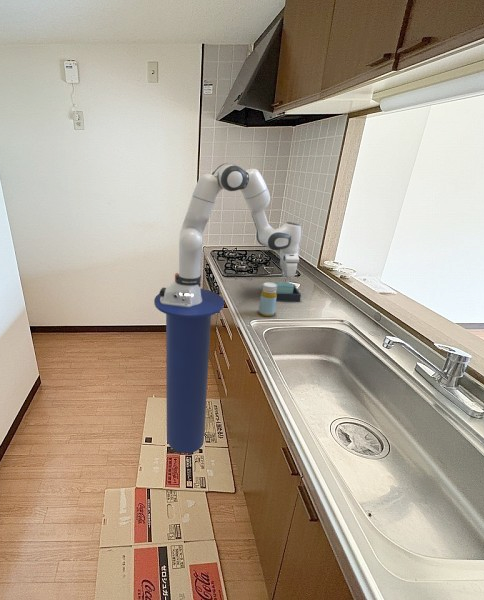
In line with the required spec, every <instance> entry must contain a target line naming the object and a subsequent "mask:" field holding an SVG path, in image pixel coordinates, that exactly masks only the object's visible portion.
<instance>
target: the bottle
mask: <svg viewBox="0 0 484 600" xmlns="http://www.w3.org/2000/svg"><path fill="white" fill-rule="evenodd" d="M275 283H276V282H271V281H269V282H264V283H263V284H262V291H261V292H260V298H259V299H260V301H259V309H258V313H259V314H260V316H263V317H268V318H269V317H272V316H274V315H275V311H276V305H277V301H276V298H277V293H276V290H277V284H275Z"/></svg>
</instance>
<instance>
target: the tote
mask: <svg viewBox="0 0 484 600" xmlns="http://www.w3.org/2000/svg"><path fill="white" fill-rule="evenodd" d="M293 286H294V289H293V294H286V293H277V298H276V302H294V303H295V302H297V303H298V302H299V303H300V302H301V297H302V294H301V292H300V291H299V289H298V288H297V287H296V284H293Z"/></svg>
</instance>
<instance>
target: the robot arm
mask: <svg viewBox="0 0 484 600" xmlns="http://www.w3.org/2000/svg"><path fill="white" fill-rule="evenodd" d="M267 186H268V185H267V183H266V181H265V179H264V177H263V176H262V174H261V172H260V171H259V170H258V169H256V168H248V169H246V170H245V169H243V168H242V167H240V166H238V165H236V164H235V163H222V164H221V165H218V167H217V168H216V169H215V170H214V171H213V172H212V173H205V174H202V175H201V176H200V177H199V178H198V180H197V182H196V184H195V187H194V189H193V192H192V195H191V198H190V202H189V205H188V207H187V210H186V211H187V212H186V213H185V216H184V219H183V221H182V225H181V227H180V231H179V239H178V240H179V241H178V250H179V251H178V272H176V273H174V281H173V282H171V283H170V284H168V285H167V286H166V287H162V288H161V289H159V292H158V294H160V296H161V297H160V302H161V304H165V305H172V306H180V307H191V306H194V305H198V304H200V303H201V302H202V297H201V290H200V289H201V286H202V275H201V267H202V254H203V253H202V252H203V233H204V231H205V229H206V226H207V224H208V222H209V220H210V217H211V215H212V211H213V209H214V206H215V203H216V200H217V196H218V195H219V193H220V192H221V191H222V190H225V191H228V192H237V191H241V193H242V195H243V196H242V197H243V199H244V200H245V203H246V205H247V207H248V209H249V212H250V214H251V218H252V220H253V223H254V226H255V229H256V241H257V242H258V244H260V245H261V246H264V247H266V248H268V249H269V250H272V251H279V258H280V260H279V267H280V269H281V277H282V278H285V281H284V283H291V282H290V281H291V279H292V278H295V276H296V272H297V268H298V263H299V262H300V256H299V252H300V251H299V250H300V246H299V245H300V242H301V238H302V227H301V225H300V224H299V223H296V222H290V221H287V222H285V223H284V224H282V226H279V227H278V228H273V227H272V226H271V225H270V224H269V221H268V218H267V215H266V211H265V209H266V208H267V207H268V206H269V205H270V202H271V195H270V191H269V189H268V187H267Z"/></svg>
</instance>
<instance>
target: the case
mask: <svg viewBox="0 0 484 600" xmlns="http://www.w3.org/2000/svg"><path fill="white" fill-rule="evenodd" d="M274 283H275V284H277V290H276V293H286V294H293V289H294V286H293V285H294V283H292V282H289V283H286V282H274Z"/></svg>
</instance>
